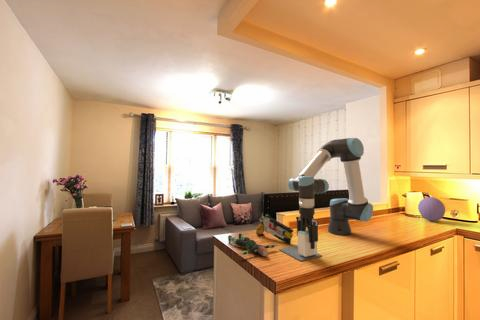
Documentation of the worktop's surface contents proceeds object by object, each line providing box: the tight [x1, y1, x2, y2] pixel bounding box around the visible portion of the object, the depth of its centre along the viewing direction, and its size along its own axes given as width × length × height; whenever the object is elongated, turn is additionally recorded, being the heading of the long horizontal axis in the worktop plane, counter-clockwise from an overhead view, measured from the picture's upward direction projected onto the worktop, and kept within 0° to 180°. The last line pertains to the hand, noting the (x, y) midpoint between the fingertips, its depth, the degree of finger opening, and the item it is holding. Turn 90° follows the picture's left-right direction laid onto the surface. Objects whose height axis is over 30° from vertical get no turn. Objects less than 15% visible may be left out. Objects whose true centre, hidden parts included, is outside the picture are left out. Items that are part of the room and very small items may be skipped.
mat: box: [278, 244, 323, 262], centre depth 119 cm, size 14×17×1 cm
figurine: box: [227, 232, 278, 257], centre depth 125 cm, size 26×6×30 cm
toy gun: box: [255, 214, 294, 245], centre depth 142 cm, size 4×26×15 cm, turn 43°
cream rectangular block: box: [297, 229, 318, 257], centre depth 115 cm, size 8×5×11 cm, turn 117°
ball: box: [417, 196, 446, 222], centre depth 188 cm, size 17×17×20 cm
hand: (307, 252), depth 114 cm, fingers closed on cream rectangular block, 5 cm apart
